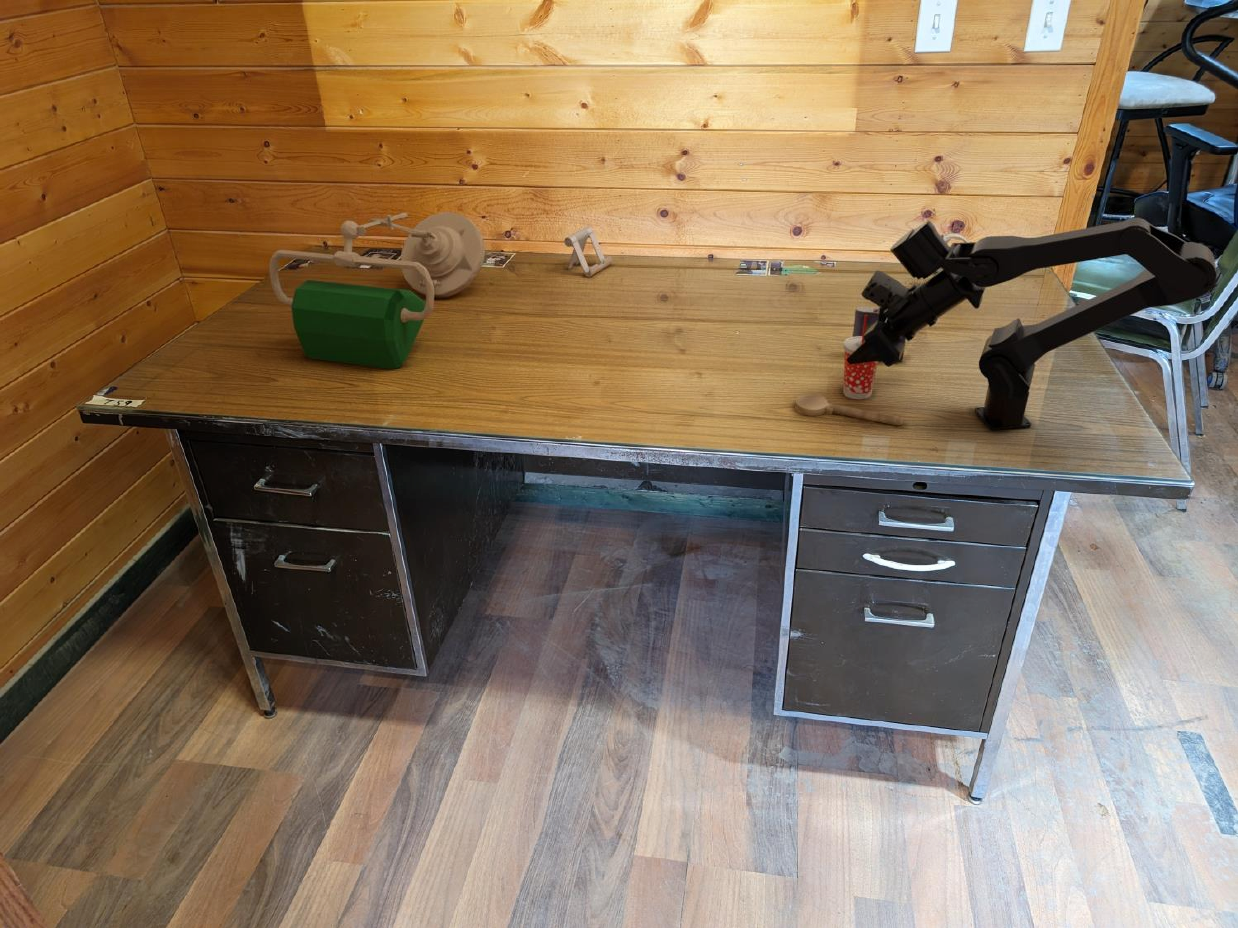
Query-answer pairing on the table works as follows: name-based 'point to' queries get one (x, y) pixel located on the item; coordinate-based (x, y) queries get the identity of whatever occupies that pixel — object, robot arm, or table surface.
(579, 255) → the tablet stand
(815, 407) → the spoon
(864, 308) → the flask
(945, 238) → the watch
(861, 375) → the beverage cup
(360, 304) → the banker's lamp
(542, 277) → the table surface
